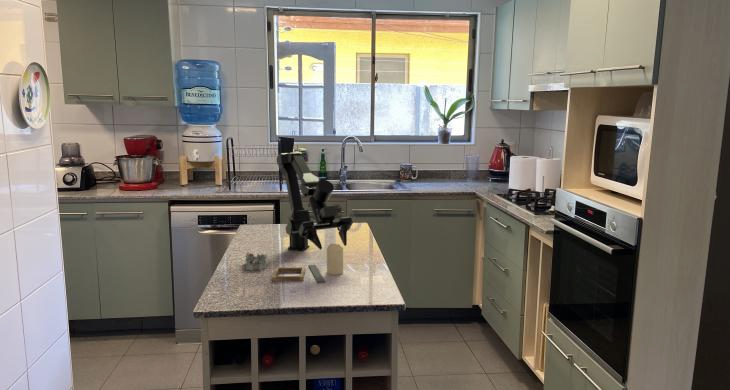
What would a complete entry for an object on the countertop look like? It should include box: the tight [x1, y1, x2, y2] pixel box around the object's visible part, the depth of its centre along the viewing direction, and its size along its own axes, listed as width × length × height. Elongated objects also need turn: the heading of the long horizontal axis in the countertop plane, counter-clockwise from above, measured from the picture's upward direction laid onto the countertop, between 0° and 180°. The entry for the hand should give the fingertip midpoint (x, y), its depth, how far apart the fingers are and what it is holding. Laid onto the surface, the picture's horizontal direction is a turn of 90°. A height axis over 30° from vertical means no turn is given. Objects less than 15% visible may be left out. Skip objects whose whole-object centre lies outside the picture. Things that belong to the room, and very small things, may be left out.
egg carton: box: [244, 251, 268, 271], centre depth 183 cm, size 11×8×4 cm
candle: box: [326, 243, 344, 276], centre depth 175 cm, size 6×6×10 cm
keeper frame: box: [271, 266, 306, 283], centre depth 172 cm, size 10×10×2 cm
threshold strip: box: [308, 264, 326, 284], centre depth 174 cm, size 18×2×1 cm, turn 16°
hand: (333, 247), depth 175 cm, fingers open, 9 cm apart
